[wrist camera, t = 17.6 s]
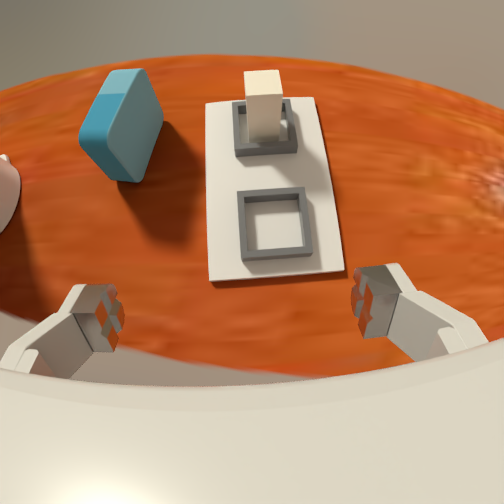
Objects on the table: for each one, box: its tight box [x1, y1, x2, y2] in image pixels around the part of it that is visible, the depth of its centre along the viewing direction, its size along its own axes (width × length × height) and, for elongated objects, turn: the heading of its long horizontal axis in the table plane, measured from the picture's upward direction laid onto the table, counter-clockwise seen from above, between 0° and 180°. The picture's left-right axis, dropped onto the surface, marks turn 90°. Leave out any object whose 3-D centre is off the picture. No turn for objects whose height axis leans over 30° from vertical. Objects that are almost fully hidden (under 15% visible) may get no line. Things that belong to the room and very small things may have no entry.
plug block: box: [244, 70, 283, 143], centre depth 37 cm, size 4×4×10 cm
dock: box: [206, 97, 345, 282], centre depth 40 cm, size 16×26×3 cm, turn 4°
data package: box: [79, 69, 163, 183], centre depth 37 cm, size 12×4×12 cm, turn 170°
